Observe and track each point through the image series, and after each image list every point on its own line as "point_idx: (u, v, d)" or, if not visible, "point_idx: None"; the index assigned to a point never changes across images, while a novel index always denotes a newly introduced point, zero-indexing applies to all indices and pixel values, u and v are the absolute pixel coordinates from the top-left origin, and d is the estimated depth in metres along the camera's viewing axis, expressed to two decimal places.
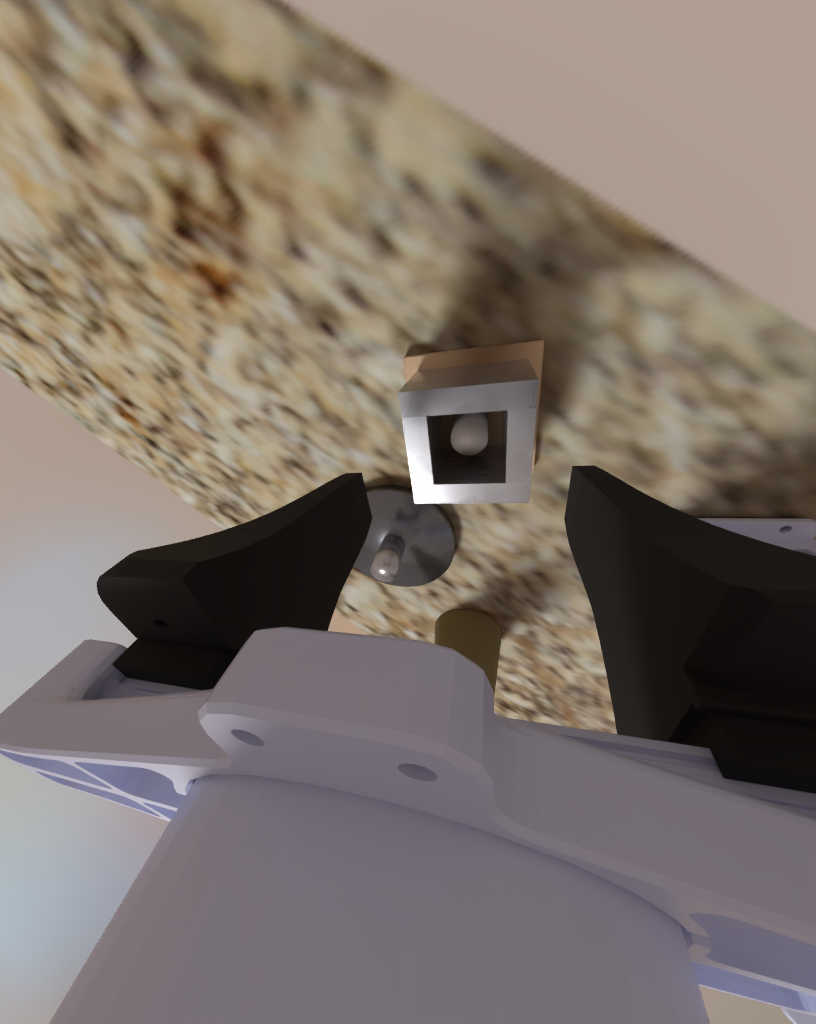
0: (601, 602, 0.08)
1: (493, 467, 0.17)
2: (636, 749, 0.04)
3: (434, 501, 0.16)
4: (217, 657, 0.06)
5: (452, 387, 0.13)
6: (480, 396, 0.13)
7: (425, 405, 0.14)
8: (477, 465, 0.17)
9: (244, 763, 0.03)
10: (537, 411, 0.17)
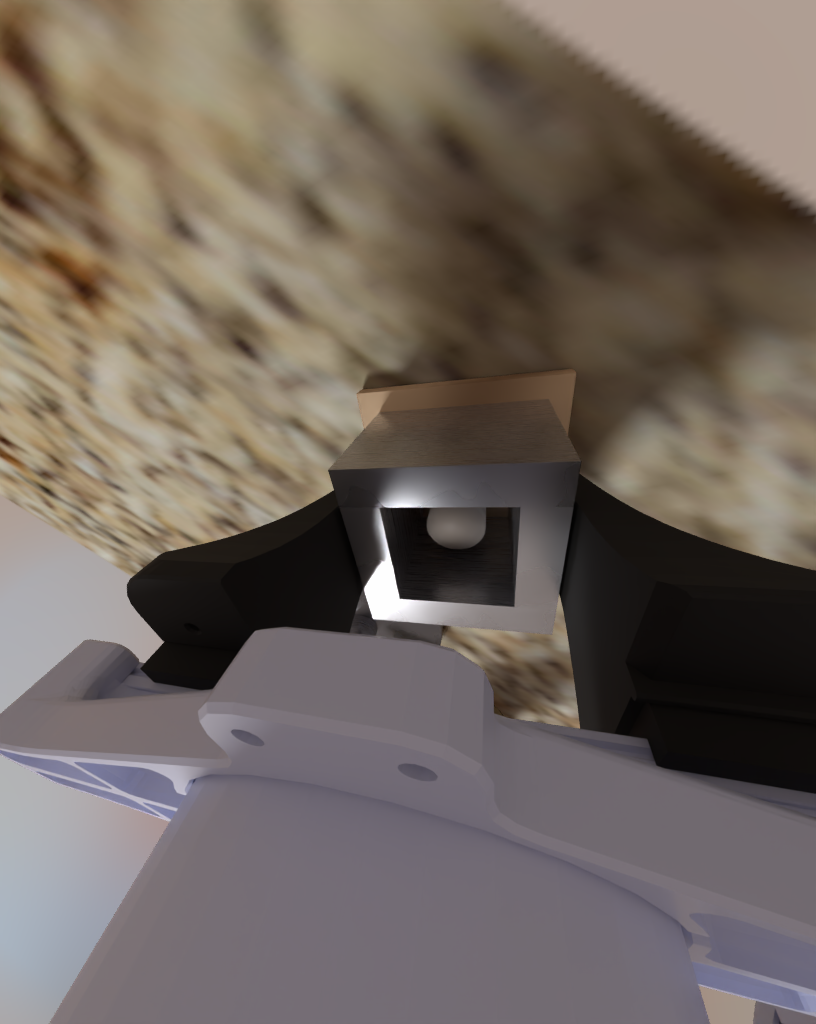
0: (569, 600, 0.08)
1: (494, 565, 0.11)
2: (636, 749, 0.04)
3: (402, 619, 0.11)
4: None
5: (421, 465, 0.07)
6: (471, 483, 0.07)
7: (376, 491, 0.08)
8: (469, 559, 0.11)
9: (244, 763, 0.03)
10: None
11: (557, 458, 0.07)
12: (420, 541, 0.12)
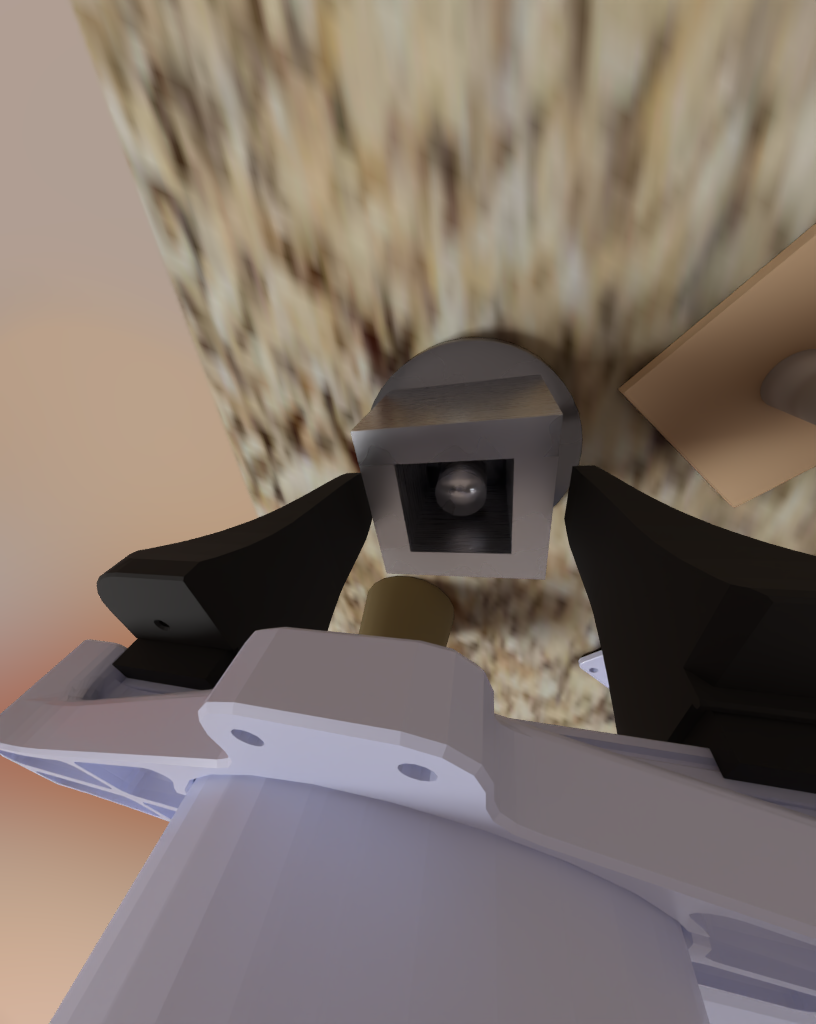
0: (601, 602, 0.08)
1: (494, 523, 0.12)
2: (636, 749, 0.04)
3: (413, 572, 0.12)
4: (217, 657, 0.06)
5: (429, 424, 0.09)
6: (472, 438, 0.09)
7: (391, 449, 0.09)
8: (471, 519, 0.12)
9: (244, 763, 0.03)
10: None
11: (543, 413, 0.08)
12: (427, 507, 0.14)
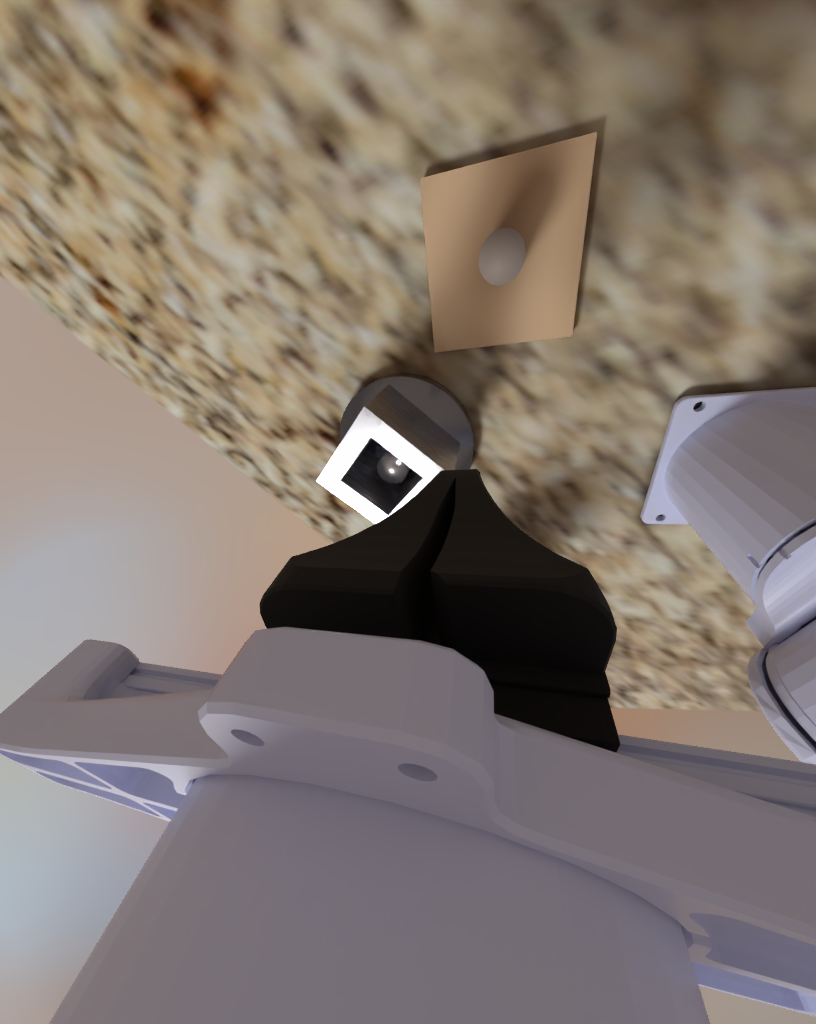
0: None
1: None
2: (636, 749, 0.04)
3: None
4: None
5: (334, 453, 0.17)
6: (350, 444, 0.17)
7: (333, 475, 0.18)
8: (415, 477, 0.19)
9: (244, 764, 0.03)
10: (582, 243, 0.14)
11: (361, 411, 0.16)
12: (401, 489, 0.21)
